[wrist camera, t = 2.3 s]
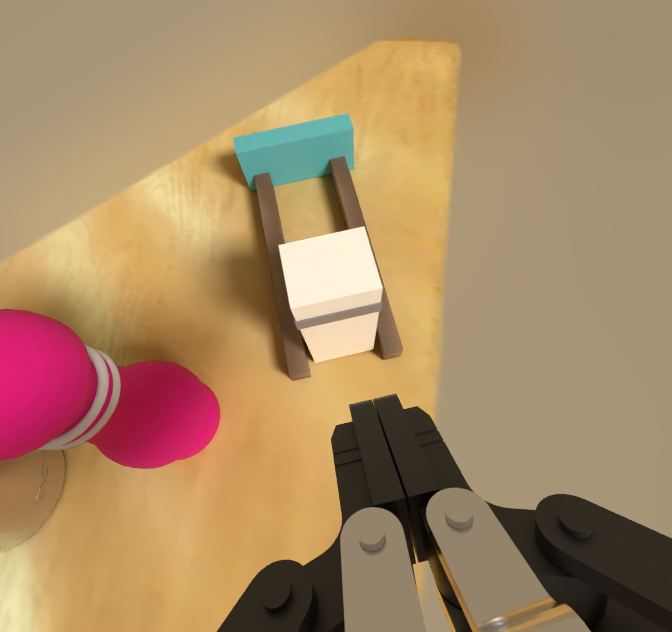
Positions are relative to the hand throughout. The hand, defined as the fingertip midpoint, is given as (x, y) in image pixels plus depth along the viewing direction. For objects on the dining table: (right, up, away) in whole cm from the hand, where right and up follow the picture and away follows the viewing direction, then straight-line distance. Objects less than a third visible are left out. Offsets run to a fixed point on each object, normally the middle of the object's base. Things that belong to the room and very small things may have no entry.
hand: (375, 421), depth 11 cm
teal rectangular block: (-5, +18, +27) cm, 33 cm away
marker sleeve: (-1, +2, +20) cm, 20 cm away
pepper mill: (-14, -5, +18) cm, 23 cm away
